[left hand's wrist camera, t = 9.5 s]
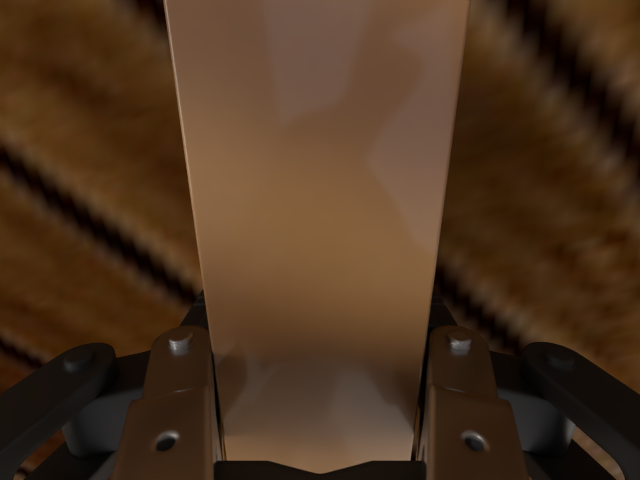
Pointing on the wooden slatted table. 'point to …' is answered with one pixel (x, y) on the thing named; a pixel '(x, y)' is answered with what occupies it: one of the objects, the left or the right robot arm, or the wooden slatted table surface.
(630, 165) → the wooden slatted table surface
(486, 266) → the wooden slatted table surface
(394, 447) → the beam
